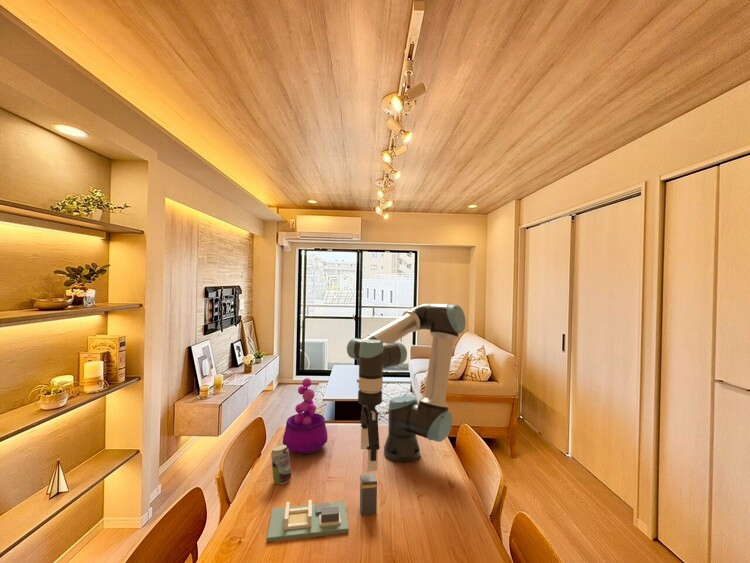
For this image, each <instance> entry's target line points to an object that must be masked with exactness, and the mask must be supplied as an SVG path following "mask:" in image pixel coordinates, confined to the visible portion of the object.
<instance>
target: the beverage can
mask: <svg viewBox="0 0 750 563" xmlns="http://www.w3.org/2000/svg"><path fill="white" fill-rule="evenodd" d="M271 450H272V451H271V454H270V456H271V458H270V459H271V468H272V477H273V478H272V479H273V483H275V484H277V485H283V484H284V485H285V484H286V483H288V482H289V481H290V480H291V478H292V468H291V460H290V451H289V449H288V448H287V446H286V445H283V444H279V445H276V446H274V447H273V448H272V449H271Z"/></svg>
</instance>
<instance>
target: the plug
mask: <svg viewBox="0 0 750 563" xmlns="http://www.w3.org/2000/svg"><path fill="white" fill-rule="evenodd" d="M359 481H360V482H359V509H360V514H361V517H364V516H365V517H366V516H374V515H377V508H378V506H377V503H378V501H377V499H378V480H377V477H376V474H375V472H370V473H361V474H360V477H359Z"/></svg>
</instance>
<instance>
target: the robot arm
mask: <svg viewBox="0 0 750 563" xmlns="http://www.w3.org/2000/svg"><path fill="white" fill-rule="evenodd" d="M465 329H466V316H465V312H464V309H463V308H462V307H461V306H460V305H458V304H451V303H430V302H429V303H428V302H427V303H422V304H419V305H416V306H415V307H411V308H410V309H407V310H406V311H404V312H403V313H402V315H401V316H400V317H397V319H394V320H393V321H390V322H389V323H388V324H386V325H384V326H382V327H380V328H379V329H377V330H376V331H373V332H371V333H370V334H368V335H366V336H365V337H363V338H360V337H358V338H357V337H356V338H355V337H354V338H352V339H350V340H349V341H348V343H347V346H346V352H347V355H348V357H349V358H351V359H353V360H354V359H355V360H356V361H358V379H356V383H357V384H358V389H359V390H358V392H357V402H358V404H359V405H362V406H361V413H360V415H361V416H360V424H361V425H360V427H361V429H360V449H361V450H367V468H366V469H367V472H377V471H378V451H379V450H380V439H379V438H380V436H379V417H378V416H379V413H378V411H377V409H376V407H377V406H379V405H381V403H383V391H382V390H383V385H384V384H383V383H384V382H383V381H384V380H383V378H384V376H383V375H384V374H383V373H384V372H383V371H384V369H387V368H391V367H396V366H399V365H401V364H403V363H405V362H406V360H407V357H408V351H407V348H406V346H405V345H404V344H403V343H400V342H397V341H399V340H400V339H402V338H404V337H405V336H407V335H408V334H409V333H415V332H418V331H419V330H430V331H429V334H430V335H431V337H432V341H431V348H430V354H429V361H428V368H427V374H426V381H425V388H424V393H423V396H422V397H421V398H419V401H418V400H417V399H418V398H416V397H415V396H413V395H400V396H395V397H392V398H391V399H390V400H389V402H388V432H387V437H386V438H385V439H386V440H385V443H384V444H383V445H384V446H383V454H384V456H385V457H386V458H387V459H389V460H391V461H393V462H397V463H411V462H414V461H416V460H418V459H419V458H420V456H421V448H420V444H419V441H418V438H417V436H418V437H422V438H425V439H428V441H432V442H436V443H437V442H439V443H441V442H443V441H444V440H445V439H447V438H448V436H449V434H450V432H451V429H452V426H453V419H454V418H453V415H452V413H451V412H450V411H449V405H448V403H447V402H446V398H447V393H448V392H447V391H448V390H447V389H448V384H449V376H450V369H451V363H452V362H451V361H452V355H453V348H454V342H455V341H456V340H457V339H459V334H461V333H464V331H465Z"/></svg>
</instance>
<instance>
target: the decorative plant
mask: <svg viewBox="0 0 750 563" xmlns="http://www.w3.org/2000/svg"><path fill="white" fill-rule="evenodd" d="M301 384H302V385H300V386H299V387H298V389H297V392H298V394H299V395H302V399H303V401H301V403H298V404H296V406H295V408H294V410H295V412H296V413H295V414H293V415H291V416H289V417H288V418H287V420H286V423H285V429H284V433H283V435H282V445H286V446H287V448H288V449H289V453H290V452H291V453H294V454H302V455H303V454H304V455H305V454H311V453H314V452H315V453H316V452H317V451H319V450H321V449H322V448H323V447H324V446H325V445H326V444H327V443H328V430H327V426H326V419H325V417H324V415H323V414H320V413H316V411H317V406H316V405H315V404H314V401H313V400H314V398H315V392H314V390H312V389H310V388H309V387H311V385H312V381H311V378H308V377H306V378H304V379H303V380H302V382H301Z"/></svg>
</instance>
